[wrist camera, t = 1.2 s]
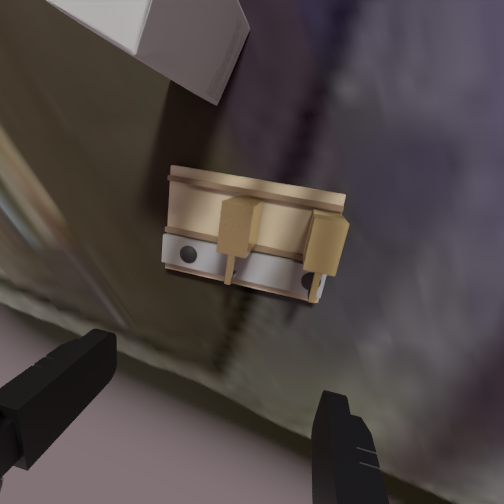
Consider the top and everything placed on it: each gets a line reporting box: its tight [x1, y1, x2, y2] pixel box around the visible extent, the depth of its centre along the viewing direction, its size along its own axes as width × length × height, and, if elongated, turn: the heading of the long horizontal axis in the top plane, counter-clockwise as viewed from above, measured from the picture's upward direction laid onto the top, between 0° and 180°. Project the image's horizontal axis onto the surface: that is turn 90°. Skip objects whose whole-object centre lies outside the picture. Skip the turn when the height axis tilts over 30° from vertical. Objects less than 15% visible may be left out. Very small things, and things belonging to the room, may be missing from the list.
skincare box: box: [46, 0, 250, 106], centre depth 21 cm, size 8×7×16 cm
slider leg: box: [216, 196, 264, 285], centre depth 28 cm, size 3×8×6 cm, turn 171°
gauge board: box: [162, 165, 349, 303], centre depth 29 cm, size 20×13×8 cm, turn 81°
